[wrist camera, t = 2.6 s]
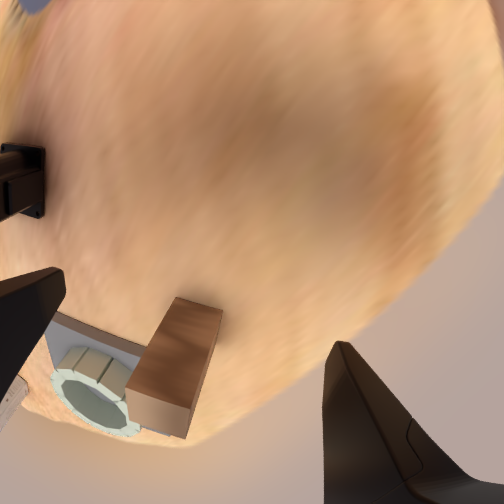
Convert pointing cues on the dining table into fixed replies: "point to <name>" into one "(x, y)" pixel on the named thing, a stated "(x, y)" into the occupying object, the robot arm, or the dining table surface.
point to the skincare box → (12, 400)
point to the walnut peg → (173, 368)
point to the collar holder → (93, 373)
